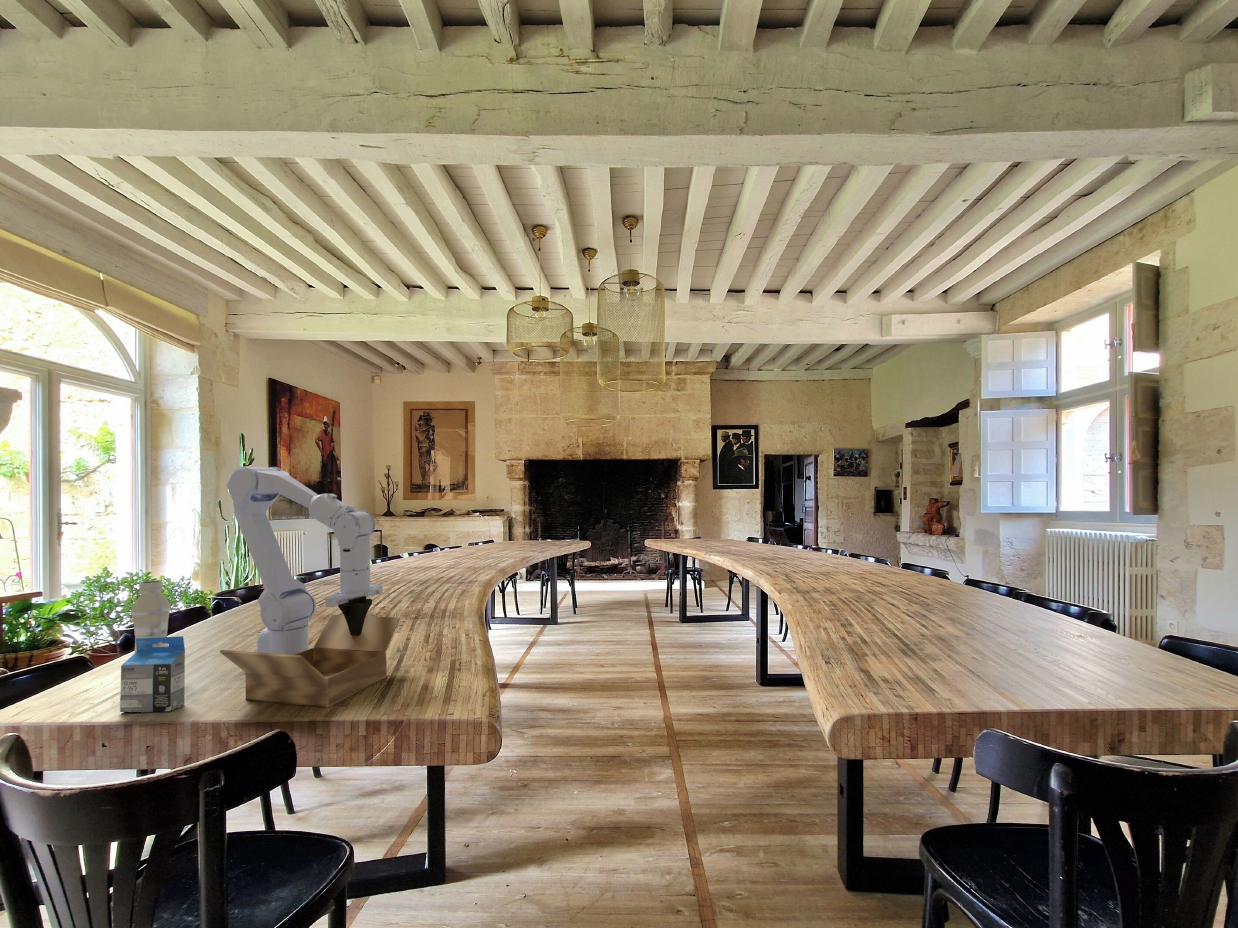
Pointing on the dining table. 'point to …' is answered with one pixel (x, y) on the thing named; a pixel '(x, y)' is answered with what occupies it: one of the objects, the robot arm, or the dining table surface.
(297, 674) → the flap near
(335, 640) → the flap far
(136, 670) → the label tape box
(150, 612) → the plastic bottle
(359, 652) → the carton
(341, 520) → the robot arm
